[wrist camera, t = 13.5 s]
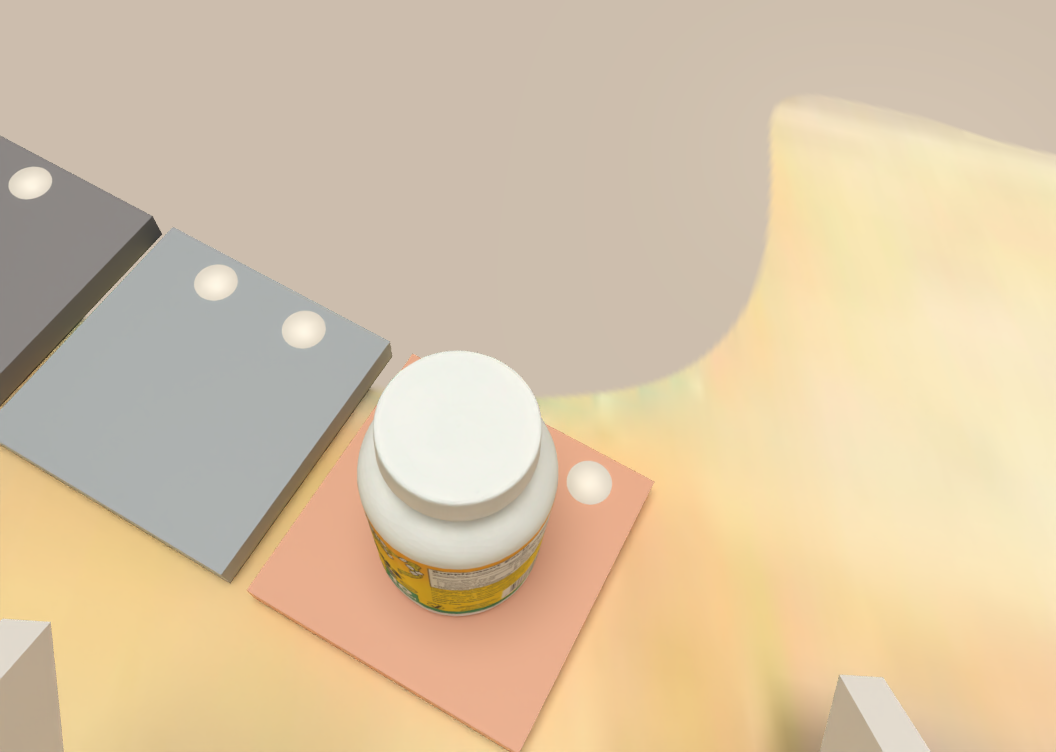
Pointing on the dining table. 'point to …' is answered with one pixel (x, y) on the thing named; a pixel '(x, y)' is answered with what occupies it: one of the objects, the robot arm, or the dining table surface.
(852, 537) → the dining table surface
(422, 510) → the supplement bottle
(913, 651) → the dining table surface
